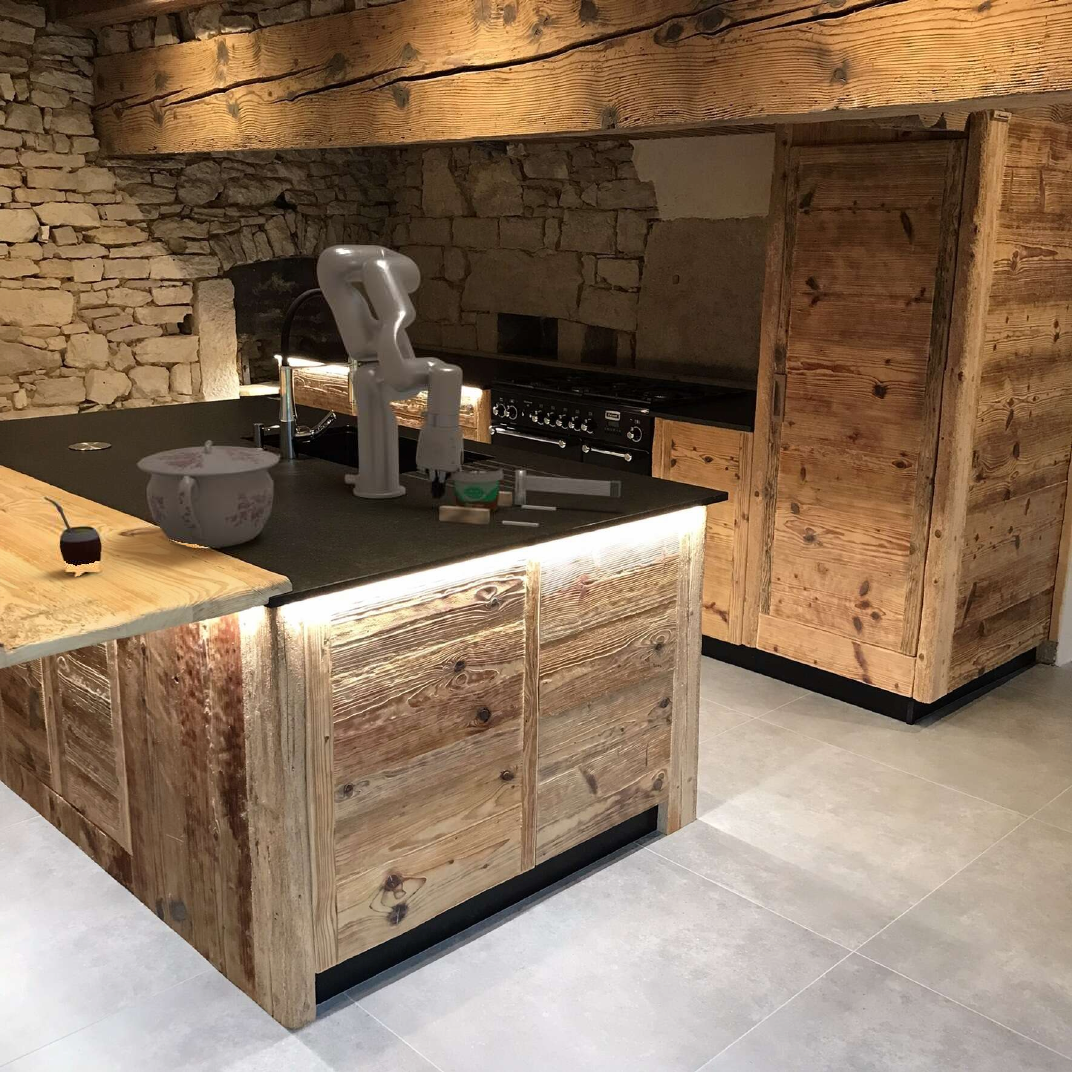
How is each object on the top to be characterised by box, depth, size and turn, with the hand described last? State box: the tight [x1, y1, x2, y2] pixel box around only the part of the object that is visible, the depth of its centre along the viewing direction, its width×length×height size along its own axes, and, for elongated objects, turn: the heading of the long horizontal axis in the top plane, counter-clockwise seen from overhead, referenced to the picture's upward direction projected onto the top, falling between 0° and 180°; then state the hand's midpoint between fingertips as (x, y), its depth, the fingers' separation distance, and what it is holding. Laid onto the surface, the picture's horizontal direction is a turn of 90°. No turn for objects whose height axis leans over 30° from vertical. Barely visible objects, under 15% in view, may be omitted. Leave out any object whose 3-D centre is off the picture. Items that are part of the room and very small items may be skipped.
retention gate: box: [514, 469, 622, 506], centre depth 253 cm, size 2×25×8 cm, turn 75°
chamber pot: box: [136, 439, 281, 547], centre depth 220 cm, size 28×28×21 cm
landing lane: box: [501, 504, 557, 528], centre depth 246 cm, size 8×17×1 cm, turn 165°
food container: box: [449, 468, 504, 514], centre depth 248 cm, size 12×6×10 cm, turn 98°
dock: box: [438, 490, 513, 526], centre depth 249 cm, size 11×20×3 cm, turn 165°
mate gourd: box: [43, 496, 103, 566], centre depth 198 cm, size 8×8×15 cm
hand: (437, 497), depth 252 cm, fingers closed
